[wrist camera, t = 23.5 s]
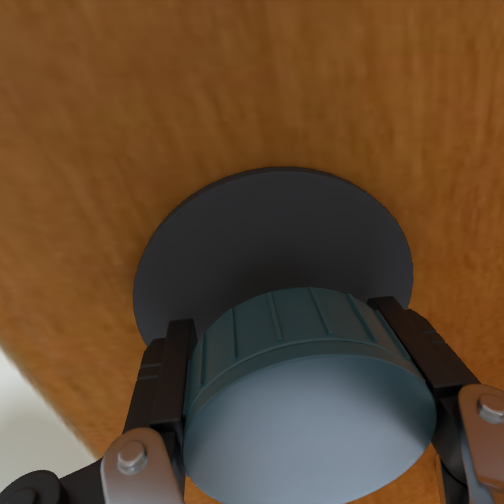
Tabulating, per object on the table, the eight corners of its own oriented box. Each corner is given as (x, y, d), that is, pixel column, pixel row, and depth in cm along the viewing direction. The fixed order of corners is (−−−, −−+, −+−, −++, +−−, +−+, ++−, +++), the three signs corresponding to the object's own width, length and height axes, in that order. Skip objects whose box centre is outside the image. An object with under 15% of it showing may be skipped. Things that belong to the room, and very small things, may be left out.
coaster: (99, 182, 10) (93, 188, 9) (429, 151, 10) (440, 156, 10) (166, 403, 14) (164, 415, 14) (386, 375, 15) (393, 386, 14)
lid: (188, 437, 11) (181, 522, 9) (188, 279, 8) (177, 351, 6) (363, 431, 11) (395, 509, 9) (420, 286, 8) (484, 351, 6)
